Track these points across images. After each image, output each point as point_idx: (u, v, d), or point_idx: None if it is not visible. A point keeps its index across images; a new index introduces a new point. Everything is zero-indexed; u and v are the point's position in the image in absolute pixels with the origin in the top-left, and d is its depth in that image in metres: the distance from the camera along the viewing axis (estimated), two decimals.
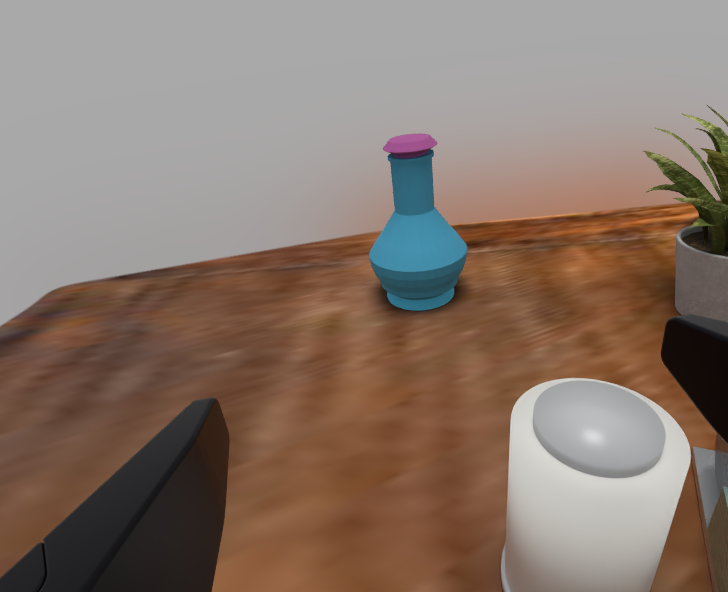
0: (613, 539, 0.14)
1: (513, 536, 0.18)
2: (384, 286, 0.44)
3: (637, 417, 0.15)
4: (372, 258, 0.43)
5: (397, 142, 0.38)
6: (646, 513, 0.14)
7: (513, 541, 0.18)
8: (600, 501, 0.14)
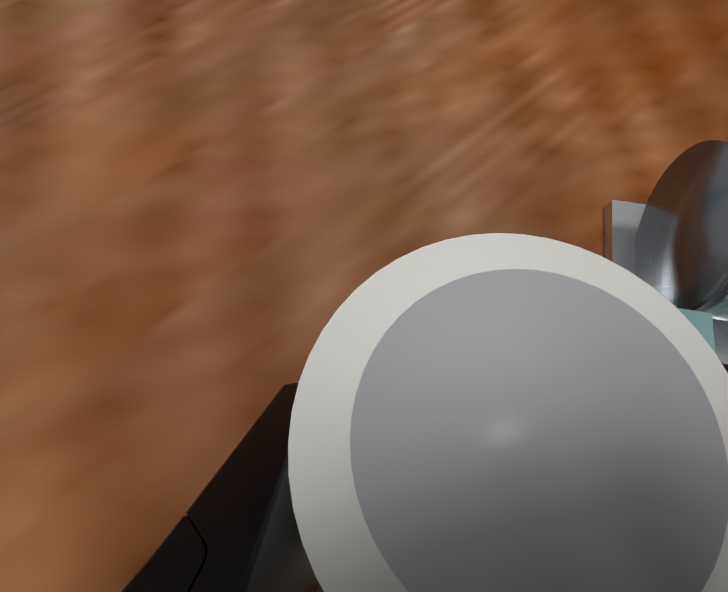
0: None
1: None
2: None
3: (652, 416, 0.05)
4: None
5: None
6: None
7: None
8: None
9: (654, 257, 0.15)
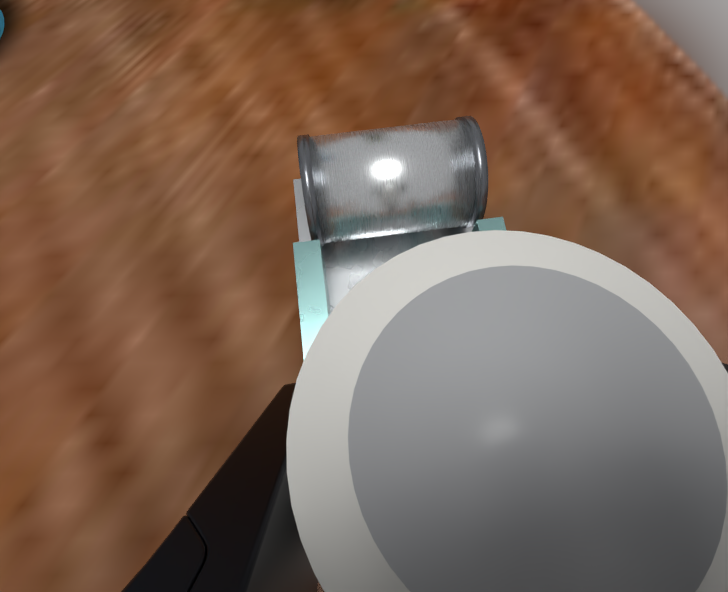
0: None
1: None
2: None
3: (649, 412, 0.05)
4: None
5: None
6: None
7: None
8: None
9: None
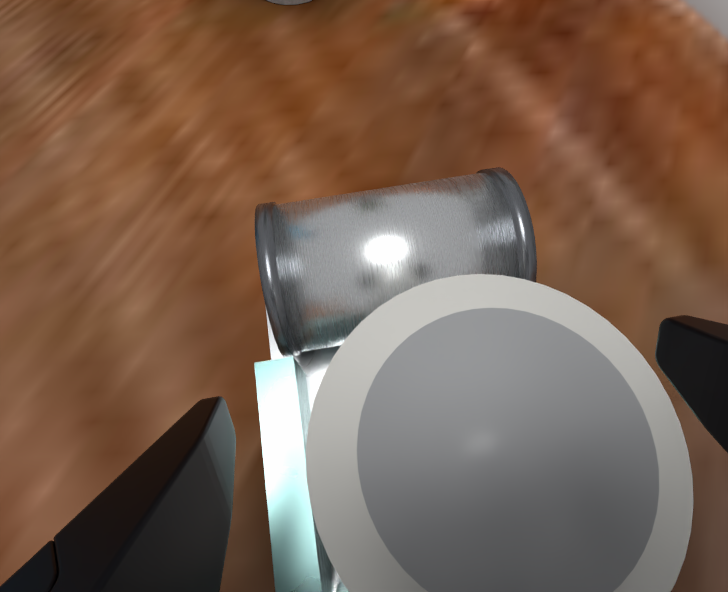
0: None
1: None
2: None
3: (599, 430, 0.06)
4: None
5: None
6: None
7: None
8: None
9: None
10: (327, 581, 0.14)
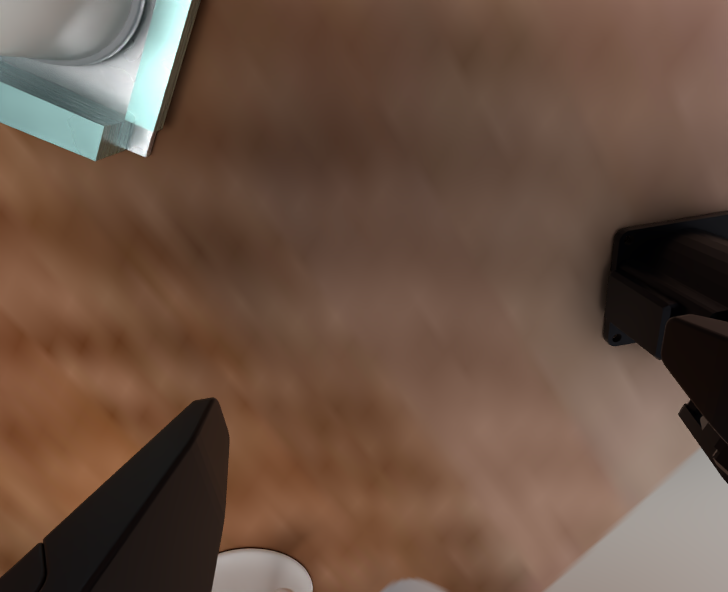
0: None
1: None
2: None
3: None
4: None
5: None
6: None
7: None
8: None
9: None
10: (106, 115, 0.16)
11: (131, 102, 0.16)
